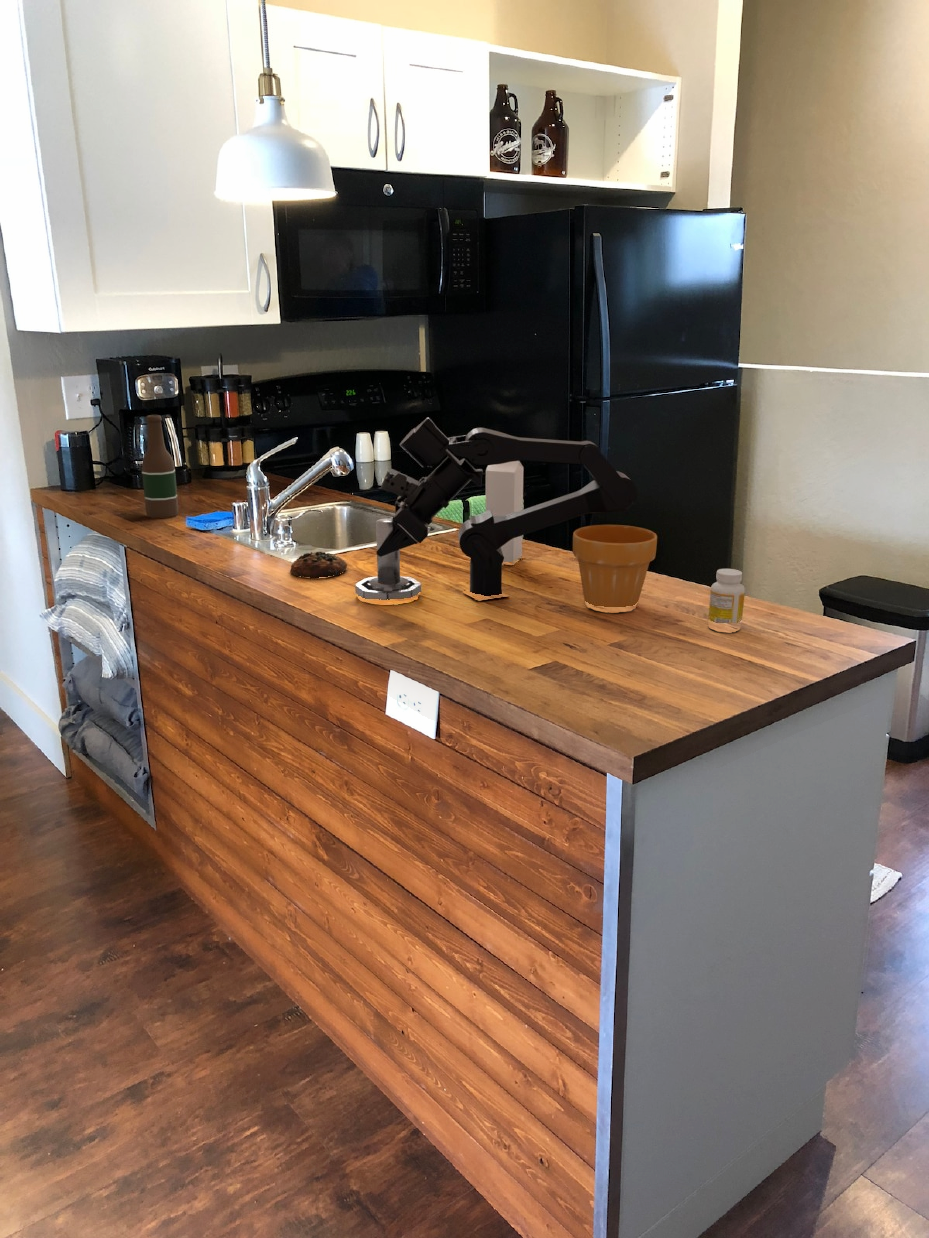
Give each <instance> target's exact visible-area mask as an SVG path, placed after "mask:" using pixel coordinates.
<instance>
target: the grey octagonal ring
mask: <svg viewBox="0 0 929 1238" xmlns="http://www.w3.org/2000/svg"><path fill="white" fill-rule="evenodd" d="M377 577H378V576H372V577H371V576H370V577H365V578H363V579H362V580H360V581H358V582H357V583H355V585H354V590H355V591H354V592H355V594H356V595H357V594H358V596H361V597H362V598H365V599H379V600H380V599H381V600H387V599H388V600H390V599H404V598H411V597H413V596H415V595H417V594H418V593H419V592H421V593H422V582H419V581H418V580H416V579H415V578H414V577H411V576H403V575H400V577H403V578H406V579H409V580H411V587H410V588H409V589H406V590H398V591H390V592H384V591H375V590H368V589H367V583H368V580H370V579H374V578H377Z"/></svg>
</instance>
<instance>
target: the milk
mask: <svg viewBox="0 0 929 1238" xmlns="http://www.w3.org/2000/svg"><path fill="white" fill-rule="evenodd" d="M523 502H524V466H523V464H522V463H521V461H513V462H507V463H503V464H495V465H487V467H486V469H485V511H487V510H491V511H492V514H493V516H506V515H509V514H512V513H515V512H518V511H521V510H524V504H523ZM485 511H484V512H485ZM522 548H523V535H522V536H519V537H516V538H513V539H511V540H510V541H508V542H507V543H506V544H504V545H503V546H502V547H501V549H502V553H503V556H504V560H503V562H514V561H516V560H517V559H518V558H520V557H521V556H523V555H522V554H523V551H522V550H523V549H522Z"/></svg>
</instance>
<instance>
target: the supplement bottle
mask: <svg viewBox="0 0 929 1238" xmlns="http://www.w3.org/2000/svg"><path fill="white" fill-rule="evenodd" d="M715 577H716V582H714V583H712V585H711V587H710V594H709V595H710V596H709V606H708V607H709V608H708V619H710V620H711V621H713V622H715V623H738V622H740V621H741V620H742V621H743V614H744V603H745V595H746V588H745V586H744V585H743V584H742V583H741V582H742V581H743V572H742V571H741V570H738V569H734V568H719V569H717V570H716V576H715ZM708 619H707V620H708Z"/></svg>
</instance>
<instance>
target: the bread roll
mask: <svg viewBox="0 0 929 1238" xmlns="http://www.w3.org/2000/svg"><path fill="white" fill-rule="evenodd" d="M347 567H348V563H347V562H346V560H344V559H342V558H341V557H340V556H336V555H335V554H333V553H331V552H328V553H326V552H322V551H315V552H312V551H310V552H305V553H303V555H302V554H301V555H300V556H299V557H297V558H296V560H295V561H294V562H293V563H291V565H290V570H289V572H290V573H291V574H292V575H294V576H295V577H298V576H301V577H300V578H302V577H303V578H304V577H310V579H311V578H319V577H328V576H333V575H338V574H340V573H342V572H344V571H345V570H346V571H347ZM342 574H343V573H342Z"/></svg>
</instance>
